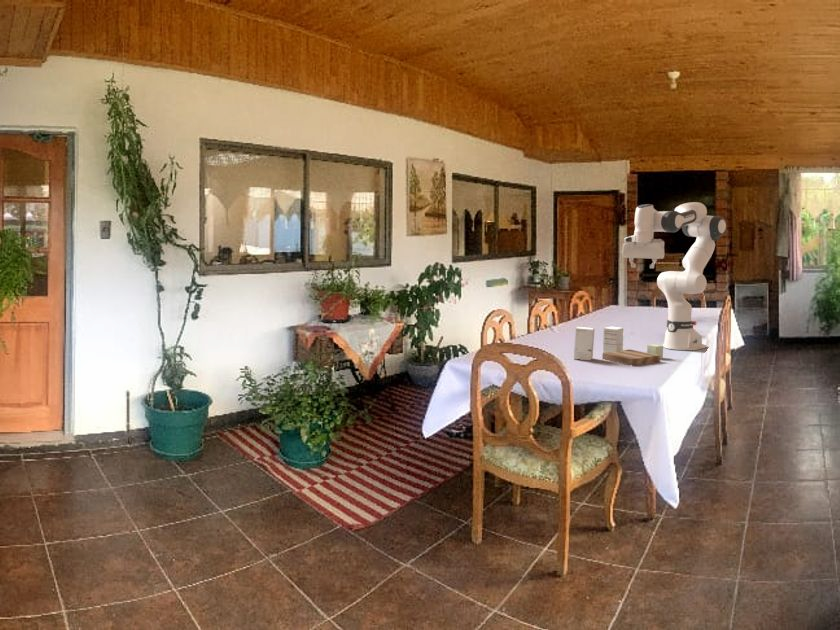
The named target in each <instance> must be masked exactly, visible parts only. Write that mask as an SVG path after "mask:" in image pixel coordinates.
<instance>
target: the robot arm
mask: <svg viewBox="0 0 840 630" xmlns="http://www.w3.org/2000/svg"><path fill="white" fill-rule="evenodd" d="M707 214H708V211H707V207H706V205H705V204H703V203H702V202H697V201H696V202H695V201H693V202H685V203H682V204H679V205H678V206H676V207H675V208H674V210H669V211H668V210H666V211H665V210H663V211H661V210H660V211H658V210H656V209H655V208H654V205H653V204H650V203H646V204H645V203H644V204H640V205H638V206H636V208H635V212H634V232H633V235H629V236H627V237H624V238H623V242H624V243H623V245H622V248H621V249H622V250H621V256H622V258H625V259H628V261H629V263H630V267H631V268H634V269H635V268H636V263H634V260H635V259H649V260H650V259H651V261H652V263H651V264H649V269H655V264H656V263H657V261H658V260H663V259H664V258H665V241H664V240H663V239H661V238H654V233H655V232H657V233H658V232H661V233H663V232H664V233H676V232H678V231H679V230H680V229H682V232H683V234H684V235H685V236H687V237H689V238H690V237H691V238H694V237H695V238H696V239H695V241H694V243H693V244H692V245H691V246H690V248H689V249H688V251H687V252H686V254H685V255H684V257H683V258H682V261H681V263H682V267H683V268H684V270H683V271H679V270H678V271H677V270H676V271H675V270H668V271H662V272H661V273H659V275H658V277H657V279H656V284H657V287H658V289H659V290H660V291H661V292H662V293H663V294H664V296H665V299H666V301H667V302H666V303H667V311H668V312H667V314H668V315H667V320H666V328H667V329H666V330H665V334H664V342H663V343H662V346H663V349H664V348H665V349H669V350H678V351H692V350H693V351H698V350H701V349H706V348H708V346H707V345H706V344H704V343H703V339H702V335H701V334H700V333H699V332H698V331H697V330H696V329H695V328H694V326H697V323H698V322H697V320H692V310H693V308H692V304H691V303H690V302H688V301H687V299H685V297H684V294H686V295H696V294H697V295H699V294H702V293H703V292H704V291H705V290H706V288H707V284H708V282H707V279H706V277H705V275H704V274H703V273H704V269H705V268H706V266H707V264H708V262H709V261H710V260H711V258H712V257H713V256H712V255H713V253H714V251H715V249H716V248H715V247H716V243H715V242H716V241H718V240H720V239H721V237H722V236H723V235H724V233H725V232H726V230H727V222H726V219H725V218H724V217H723V216H720V215H707Z"/></svg>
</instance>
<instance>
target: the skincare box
mask: <svg viewBox="0 0 840 630" xmlns="http://www.w3.org/2000/svg"><path fill="white" fill-rule="evenodd" d="M595 329H596V328H595V327H584V326H577V327H575V332H574V333H575V335H574V349H573V350H574V351H573V360H577V359H580V360H579V361H592V360H593V359H592V358H593V357H594V345H595V343H594V342H595ZM591 359H592V360H591Z"/></svg>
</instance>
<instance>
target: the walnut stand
mask: <svg viewBox="0 0 840 630" xmlns="http://www.w3.org/2000/svg"><path fill="white" fill-rule="evenodd" d="M603 359H605V360H604V361H608V360H609V362H612V361H614V362H613V363H617V362H618V363H617V364H621V363H622V365H626V364H627V365H626V366H630V365H632V366H631V367H633V365H635V366H639V365H640V364H641V365H647V363H648V364H654V363H653V362H655V363H660V362H661V361H660V360H661V359H660V355H655V354H650V353H647V352H646V351H644V352H643V351H639V350H634V349H623V350H622V351H614V352H606V353H603V352H602V360H603Z"/></svg>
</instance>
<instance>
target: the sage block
mask: <svg viewBox="0 0 840 630" xmlns="http://www.w3.org/2000/svg"><path fill="white" fill-rule="evenodd" d="M646 347H647V348H646V349H647V350H646V353H650V354H655V355H660V358H661V359H663V358H664V347H663V344H662V345H660V344H656V343H653V344H647V346H646Z"/></svg>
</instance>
